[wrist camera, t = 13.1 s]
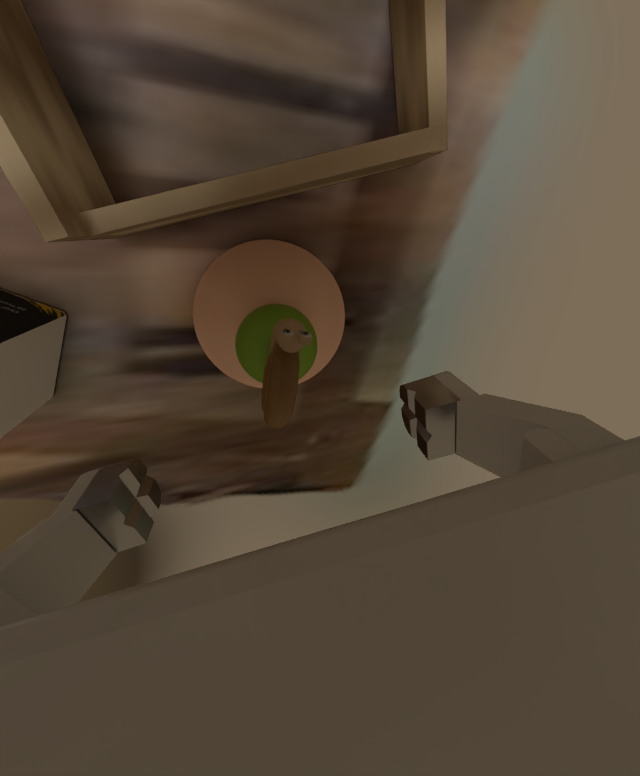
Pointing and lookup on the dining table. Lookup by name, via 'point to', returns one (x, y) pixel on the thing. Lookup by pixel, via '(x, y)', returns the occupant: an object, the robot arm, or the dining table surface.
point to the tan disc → (265, 300)
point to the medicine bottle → (27, 356)
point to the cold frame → (110, 220)
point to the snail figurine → (276, 356)
